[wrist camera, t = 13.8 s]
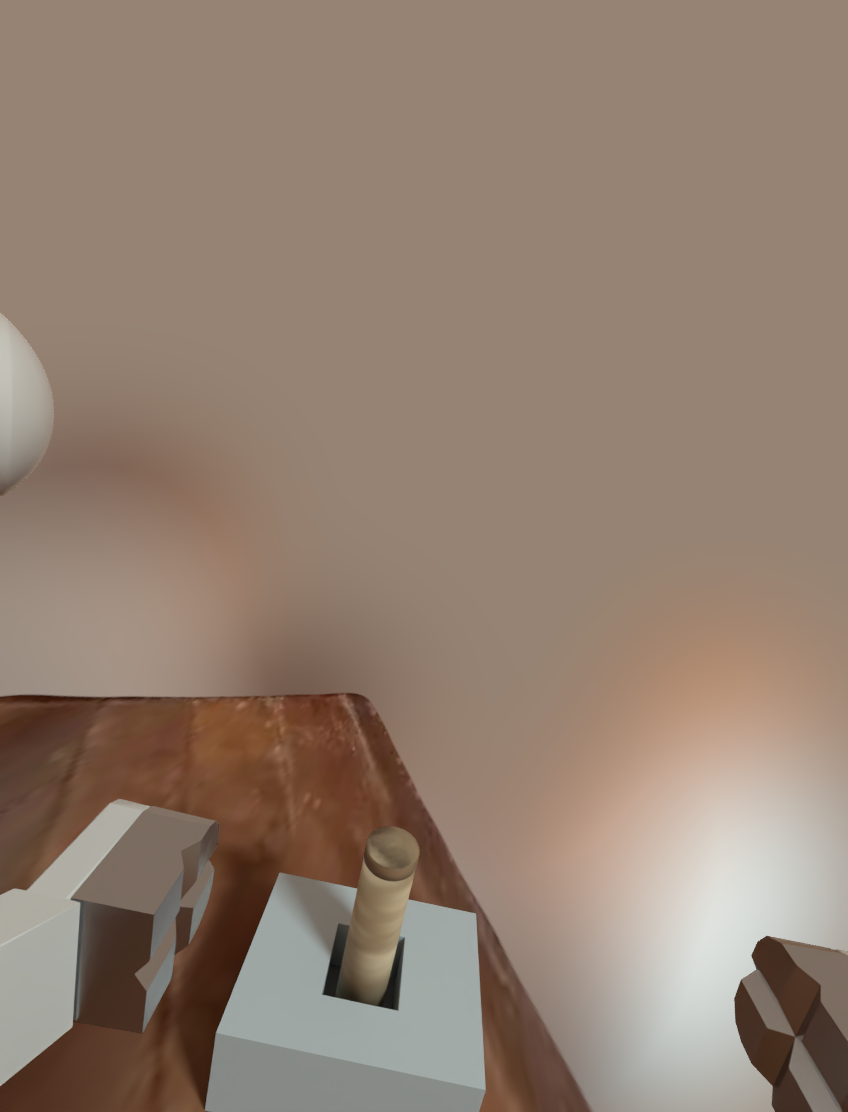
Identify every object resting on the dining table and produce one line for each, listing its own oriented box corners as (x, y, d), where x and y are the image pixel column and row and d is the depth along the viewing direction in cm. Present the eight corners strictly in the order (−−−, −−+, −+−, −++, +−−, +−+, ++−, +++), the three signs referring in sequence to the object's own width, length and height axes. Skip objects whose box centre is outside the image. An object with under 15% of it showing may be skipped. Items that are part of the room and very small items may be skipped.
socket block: (204, 1110, 27) (216, 1032, 26) (269, 934, 37) (279, 872, 36) (462, 1165, 27) (485, 1090, 26) (459, 975, 37) (475, 913, 36)
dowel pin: (322, 1016, 31) (356, 852, 28) (349, 971, 34) (381, 818, 31) (366, 1046, 30) (405, 878, 27) (389, 997, 33) (427, 841, 30)
